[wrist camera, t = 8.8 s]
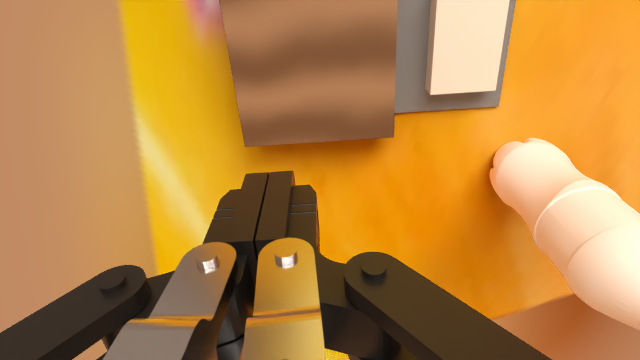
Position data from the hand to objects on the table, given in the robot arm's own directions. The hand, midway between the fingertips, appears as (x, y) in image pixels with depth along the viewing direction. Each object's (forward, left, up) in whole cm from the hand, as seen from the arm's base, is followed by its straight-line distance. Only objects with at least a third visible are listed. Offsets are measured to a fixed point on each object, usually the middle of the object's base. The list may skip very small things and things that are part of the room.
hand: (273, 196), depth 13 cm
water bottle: (+14, +22, -27) cm, 37 cm away
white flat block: (0, +15, -25) cm, 29 cm away
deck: (0, +1, -27) cm, 27 cm away
